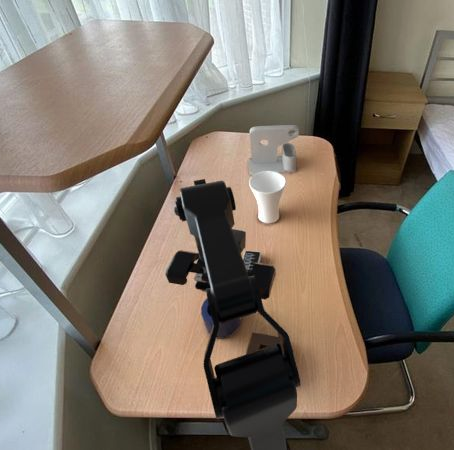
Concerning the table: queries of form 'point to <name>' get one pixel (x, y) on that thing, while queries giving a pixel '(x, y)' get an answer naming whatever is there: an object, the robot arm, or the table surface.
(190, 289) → the table surface
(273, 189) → the cup
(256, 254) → the multiport hub
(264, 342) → the brush stand
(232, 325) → the blue hollow cylinder
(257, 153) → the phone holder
